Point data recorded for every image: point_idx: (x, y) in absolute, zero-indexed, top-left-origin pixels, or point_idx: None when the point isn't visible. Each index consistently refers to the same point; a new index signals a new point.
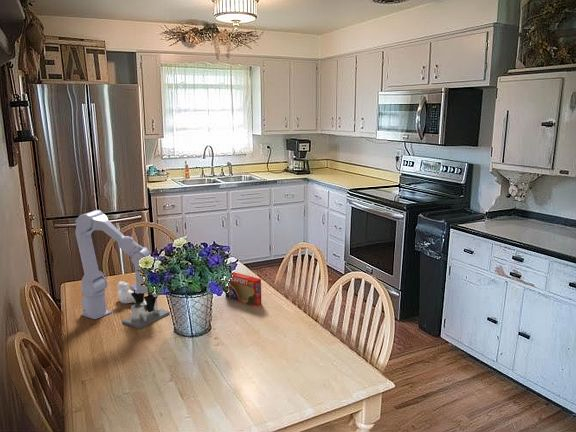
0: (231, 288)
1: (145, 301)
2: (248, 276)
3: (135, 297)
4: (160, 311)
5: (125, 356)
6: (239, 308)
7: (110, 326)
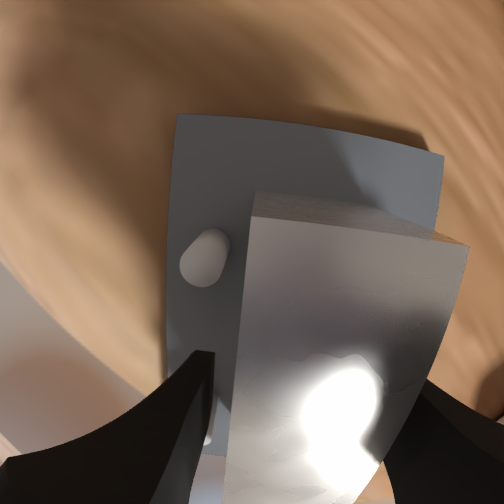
0: None
1: (330, 476)
2: None
3: (497, 457)
4: None
5: None
6: None
7: (462, 74)
